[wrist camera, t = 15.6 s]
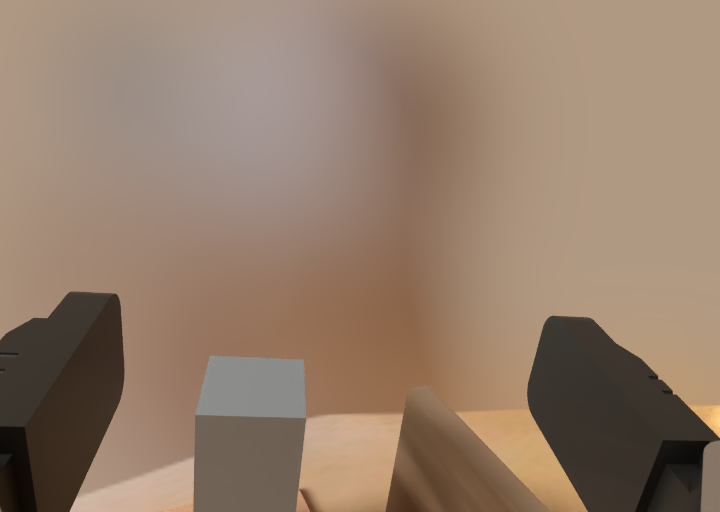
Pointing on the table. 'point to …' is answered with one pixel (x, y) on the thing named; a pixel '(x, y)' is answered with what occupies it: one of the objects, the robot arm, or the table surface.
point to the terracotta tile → (301, 508)
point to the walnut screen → (450, 465)
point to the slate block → (249, 435)
